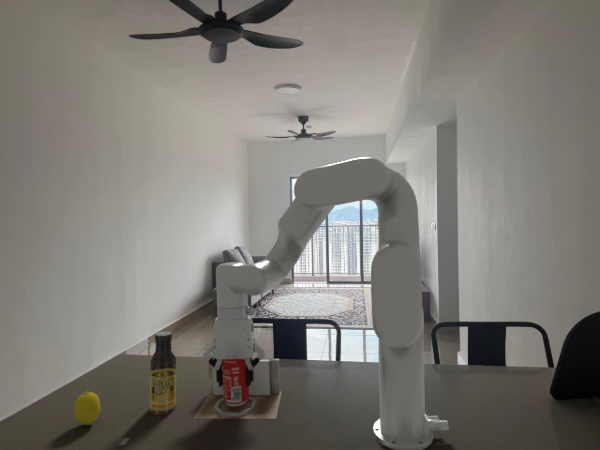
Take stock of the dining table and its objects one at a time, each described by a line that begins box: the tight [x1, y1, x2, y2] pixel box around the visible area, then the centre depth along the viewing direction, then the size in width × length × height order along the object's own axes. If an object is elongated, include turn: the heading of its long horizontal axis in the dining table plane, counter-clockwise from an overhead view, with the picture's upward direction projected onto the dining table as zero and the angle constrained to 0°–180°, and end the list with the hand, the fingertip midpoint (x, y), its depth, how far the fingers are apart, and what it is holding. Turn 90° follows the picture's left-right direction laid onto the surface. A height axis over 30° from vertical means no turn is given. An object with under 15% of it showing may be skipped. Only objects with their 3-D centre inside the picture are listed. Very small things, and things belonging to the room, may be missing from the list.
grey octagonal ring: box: [214, 396, 256, 417], centre depth 97 cm, size 10×10×1 cm
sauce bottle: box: [149, 330, 177, 415], centre depth 98 cm, size 6×6×20 cm
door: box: [213, 358, 275, 395], centre depth 103 cm, size 16×2×9 cm, turn 87°
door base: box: [193, 358, 283, 420], centre depth 99 cm, size 20×14×10 cm
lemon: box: [73, 391, 101, 426], centre depth 93 cm, size 6×6×8 cm
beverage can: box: [222, 357, 249, 407], centre depth 97 cm, size 6×6×12 cm
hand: (235, 383), depth 97 cm, fingers open, 6 cm apart
